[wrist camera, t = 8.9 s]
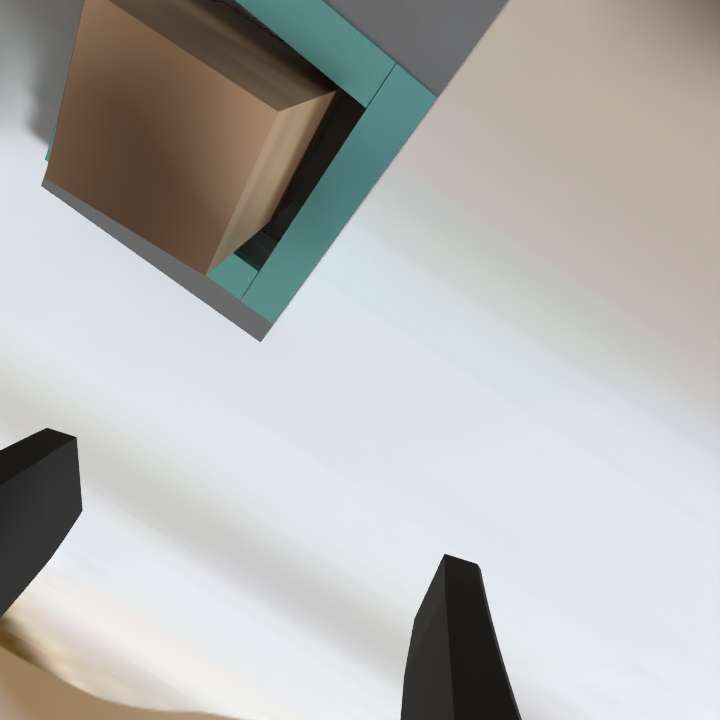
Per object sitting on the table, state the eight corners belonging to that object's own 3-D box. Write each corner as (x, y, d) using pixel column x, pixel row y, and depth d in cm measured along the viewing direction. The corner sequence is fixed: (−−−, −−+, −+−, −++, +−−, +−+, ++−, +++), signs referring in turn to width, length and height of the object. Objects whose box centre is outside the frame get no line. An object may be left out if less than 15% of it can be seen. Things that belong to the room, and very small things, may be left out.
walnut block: (347, 86, 16) (278, 111, 10) (287, 206, 18) (205, 276, 13) (222, 2, 15) (86, -14, 10) (176, 135, 17) (44, 178, 12)
